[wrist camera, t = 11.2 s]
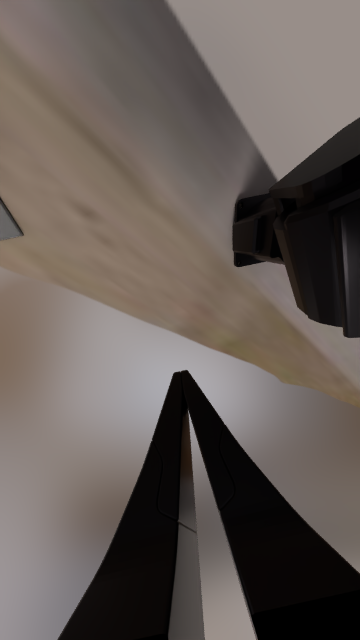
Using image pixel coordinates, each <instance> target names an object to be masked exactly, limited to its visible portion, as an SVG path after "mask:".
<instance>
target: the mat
mask: <svg viewBox="0 0 360 640" xmlns="http://www.w3.org/2000/svg"><path fill="white" fill-rule="evenodd" d="M19 236H24V235H23V234H22V232H21V231H20V229H19V227H18V226H17V224H16V223H15V221H14V220H13V218H12V217H11V215H10V214H9V212H8V210H7V209H6V207H5V206H4V204H3V203H2V201H1V200H0V240H5V239H10V238H15V237H19Z"/></svg>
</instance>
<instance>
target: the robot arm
mask: <svg viewBox="0 0 360 640" xmlns="http://www.w3.org/2000/svg"><path fill="white" fill-rule="evenodd" d="M269 192H270V193H268V194H263V195H259V196H254V197H249V198H244V199H241V200H239V201H237V202H236V204H235V223H234V225H233V251H234V265H235V266H236V267H242V266H247V265H252V264H256V263H261V262H266V261H267V262H272V263H278V264H283V265H285V267H286V270H287V274H288V277H289V281H290V284H291V287H292V291H293V294H294V297H295V301H296V304H297V307H298V308H299V309H300V310H301V311H303V312H304V313H305V314H306V315H308V318H309V319H311V320H314V321H316V322H319V323H322V324H327V325H331V326H336V327H343V335H344V336H345V337H347V338H358V337H360V118H358V119H357V120H355V121H354V122H352V123H351V124H349V125H348V126H346V127H345V128H343V129H342V130H340V131H339V132H338V133H337V134H335V135H334V136H333V137H332V138H331V139H329V140H328V141H327V142H326V143H325V144H323V145H322V146H321V147H320V148H318V149H317V150H316V151H315V152H314V153H312V154H311V155H310V156H309V157H308V158H306V159H305V160H304V161H303V162H302V163H301V164H299V165H298V166H297V167H296V168H294V169H293V170H292V171H291V172H289V173H288V174H287V175H286V176H285V177H283V178H282V179H281V180H280V181H279V182H277V183H276V184H275V185H274V186H273V187H271V188H270V189H269ZM240 203H241V204H242V208H239V204H240ZM238 261H240V263H239V264H237V263H238ZM188 410H189V413H188ZM189 414H190V417H191V420H192V424H193V427H194V430H195V434H196V437H197V441H198V444H199V447H200V451H201V454H202V457H203V461H204V464H205V468H206V471H207V475H208V478H209V481H210V484H211V488H212V491H213V495H214V498H215V502H216V505H217V508H218V512H219V515H220V518H221V522H222V525H223V529H224V532H225V535H226V539H227V542H228V546H229V549H230V552H231V556H232V559H233V563H234V566H235V569H236V573H237V576H238V579H239V582H240V586H241V590H242V593H243V596H244V599H245V603H246V607H247V610H248V613H249V617H250V620H251V623H252V627H253V630H254V634H255V637H256V640H360V573H359V572H358V571H356V569H354V568H353V567H352V566H351V565H350V564H349V563H348V562H347V561H346V560H345V559H344V558H343V557H342V556H341V555H340V554H339V553H338V552H337V551H336V550H335V549H334V548H332V547H331V546H330V545H329V544H328V543H327V542H326V541H325V540H324V539H323V538H322V537H321V536H320V535H319V534H318V533H316V531H315V530H314V529H313V528H312V527H311V526H309V524H307V522H306V521H305V520H304V519H303V518H302V517H301V516H300V515H299V514H298V513H297V512H296V511H295V510H294V509H293V507H292V506H291V505H290V504H289V503H288V502H287V501H286V500H285V498H284V497H283V496H282V495H281V494H280V493H279V491H278V490H277V489H276V488H275V487H274V485H272V483H271V482H270V481H269V480H268V478H267V477H266V476H265V475H264V474H263V472H262V471H261V470H260V469H259V468H258V467H257V465H256V464H255V463H254V462H253V461H252V459H251V458H250V457H249V456H248V455H247V453H246V452H245V451H244V450H243V448H242V447H241V446H240V444H239V443H238V442H237V440H236V439H235V438H234V436H233V435H232V434H231V432H230V431H229V429H228V428H227V426H226V425H225V424H224V422H223V421H222V419H221V418H220V416H219V415H218V413H217V412H216V411H215V409H214V408H213V406H212V405H211V403H210V402H209V401H208V399H207V398H206V396H205V395H204V393H203V392H202V390H201V389H200V387H199V386H198V385H197V383H196V382H195V380H194V379H193V378H192V376H191V374H190V373H189V372H188V370H184V371H181V372H175V373H174V374H173V376H172V379H171V383H170V386H169V389H168V392H167V395H166V398H165V401H164V404H163V407H162V410H161V413H160V416H159V419H158V423H157V425H156V429H155V431H154V435H153V438H152V441H151V443H150V447H149V450H148V453H147V455H146V458H145V461H144V464H143V467H142V469H141V472H140V475H139V477H138V480H137V482H136V485H135V487H134V489H133V492H132V494H131V497H130V499H129V501H128V504H127V506H126V508H125V511H124V513H123V516H122V518H121V520H120V523H119V525H118V528H117V530H116V533H115V535H114V537H113V539H112V542H111V544H110V546H109V548H108V550H107V553H106V555H105V557H104V559H103V561H102V563H101V565H100V567H99V569H98V571H97V573H96V574H95V576H94V578H93V580H92V582H91V584H90V585H89V587H88V589H87V590H86V592H85V594H84V595H83V597H82V599H81V600H80V602H79V604H78V606H77V607H76V609H75V611H74V613H73V614H72V616H71V618H70V619H69V621H68V623H67V624H66V626H65V628H64V629H63V631H62V633H61V634H60V636H59V638H58V640H205V637H204V623H203V609H202V595H201V581H200V567H199V553H198V539H197V533H196V532H197V525H196V511H195V497H194V483H193V470H192V454H191V440H190V426H189Z"/></svg>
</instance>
